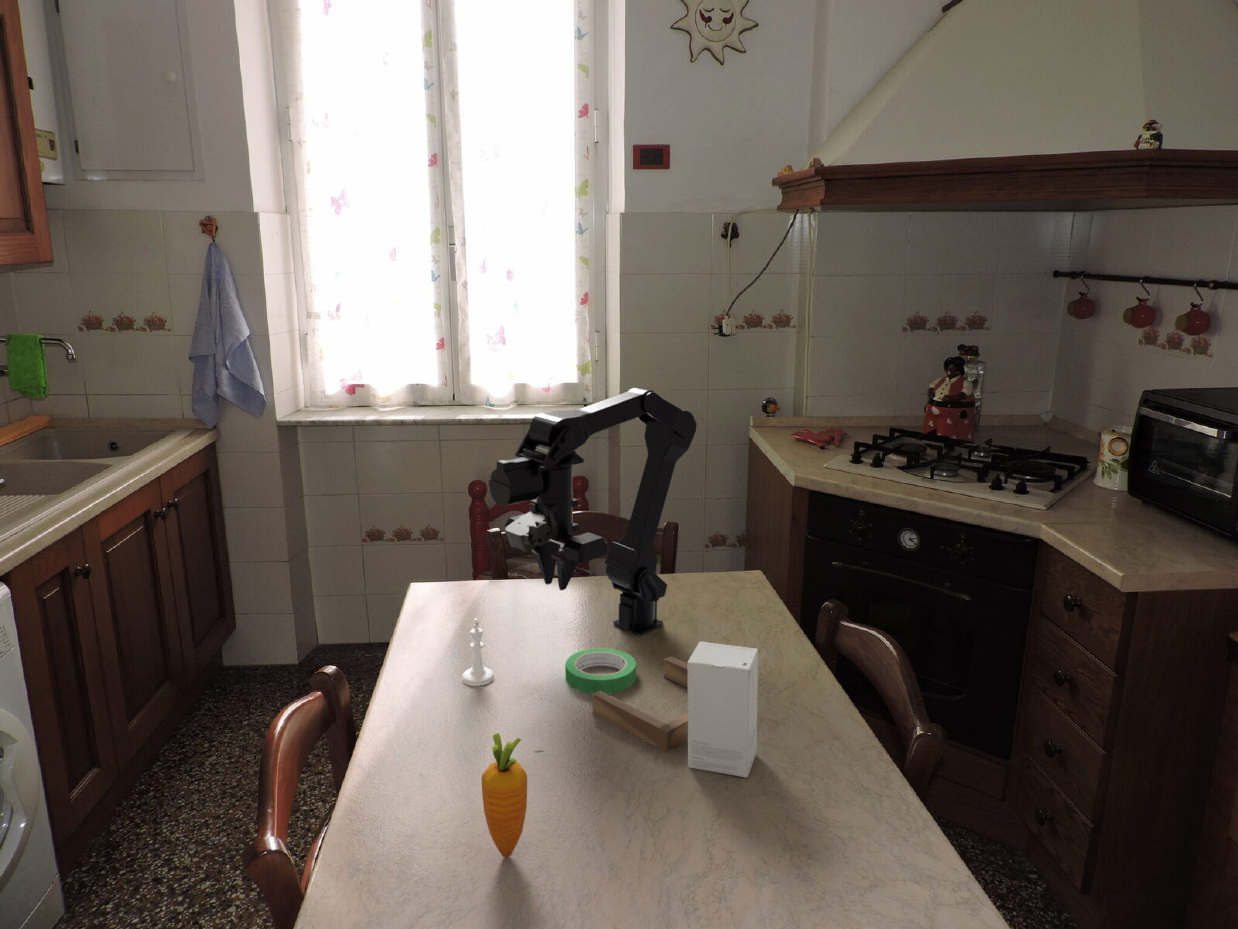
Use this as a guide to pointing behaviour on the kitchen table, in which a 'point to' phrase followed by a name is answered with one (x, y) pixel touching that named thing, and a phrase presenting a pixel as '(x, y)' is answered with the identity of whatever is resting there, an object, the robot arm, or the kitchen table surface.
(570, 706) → the kitchen table surface
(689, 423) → the robot arm
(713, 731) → the skincare box
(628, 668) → the tape roll
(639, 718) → the corral
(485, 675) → the chess piece
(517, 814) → the carrot
